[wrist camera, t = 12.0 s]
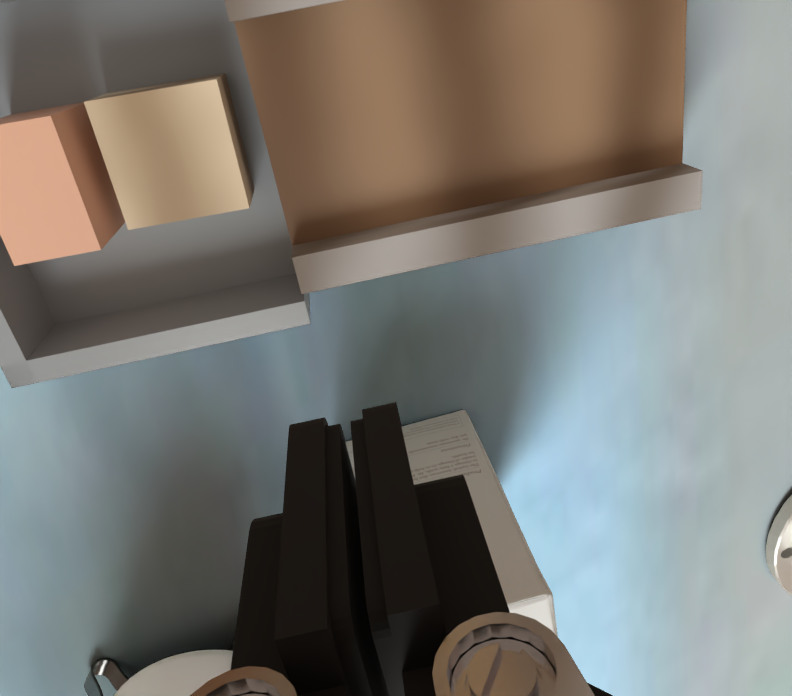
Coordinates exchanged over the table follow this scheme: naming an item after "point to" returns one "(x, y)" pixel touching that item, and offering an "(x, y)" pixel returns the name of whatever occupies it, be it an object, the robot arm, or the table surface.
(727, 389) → the table surface
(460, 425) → the supplement box
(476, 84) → the slot block
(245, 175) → the beige block
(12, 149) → the salmon orange block
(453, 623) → the robot arm
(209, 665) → the coffee press
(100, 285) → the tray
